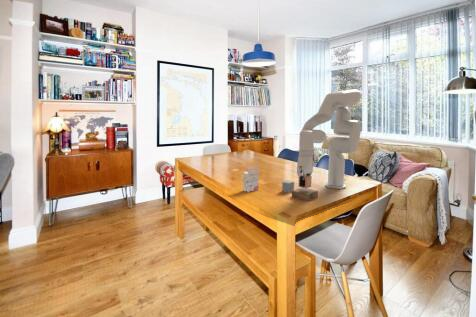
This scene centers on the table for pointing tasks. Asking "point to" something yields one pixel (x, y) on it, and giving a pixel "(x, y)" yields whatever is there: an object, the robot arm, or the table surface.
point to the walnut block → (304, 194)
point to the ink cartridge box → (250, 179)
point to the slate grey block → (287, 186)
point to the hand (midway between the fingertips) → (304, 185)
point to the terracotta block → (307, 181)
